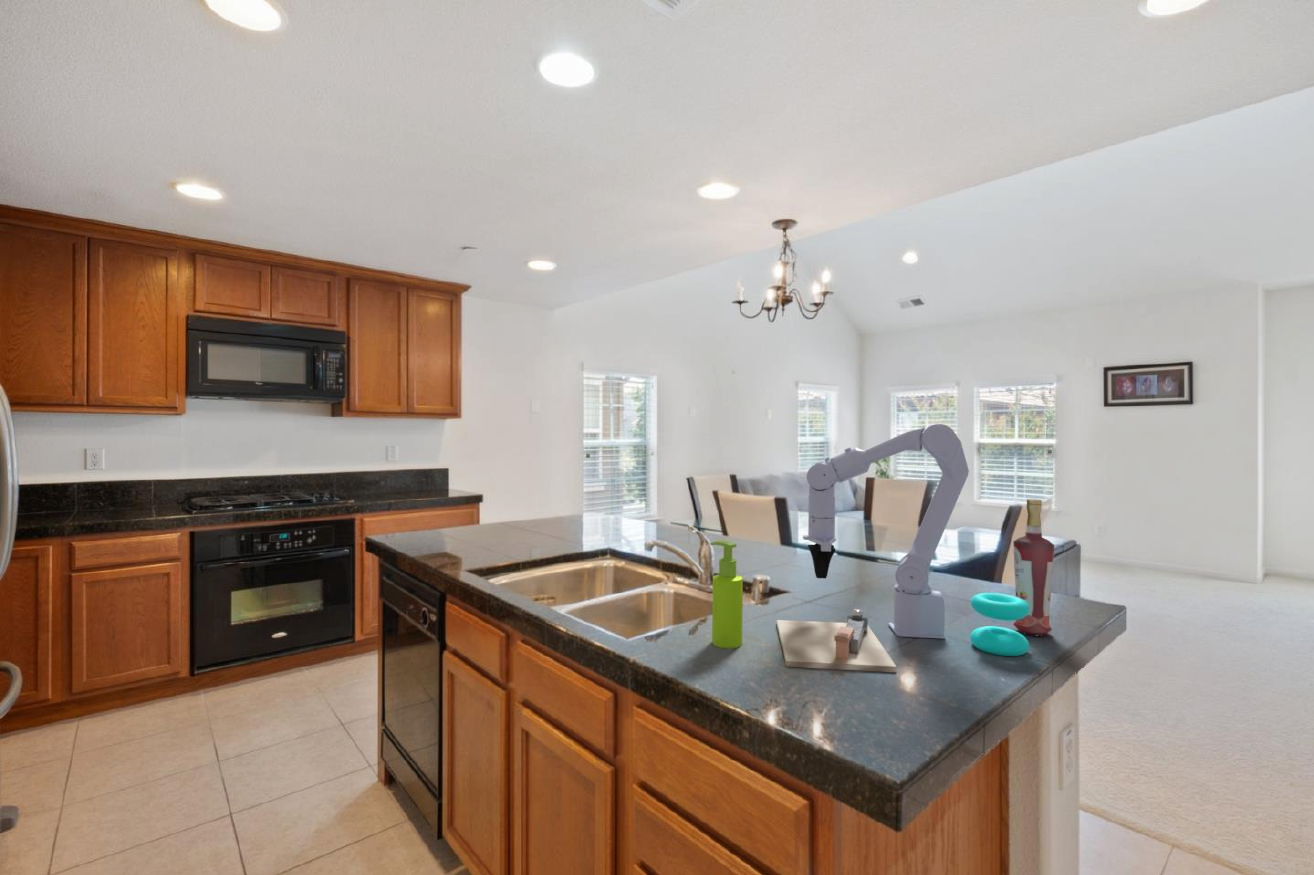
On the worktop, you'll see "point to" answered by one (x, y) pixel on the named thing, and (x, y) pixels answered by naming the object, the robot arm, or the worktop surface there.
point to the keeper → (843, 641)
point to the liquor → (1034, 573)
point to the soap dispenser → (727, 601)
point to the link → (857, 629)
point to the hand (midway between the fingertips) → (821, 577)
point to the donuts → (999, 637)
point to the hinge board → (829, 648)
